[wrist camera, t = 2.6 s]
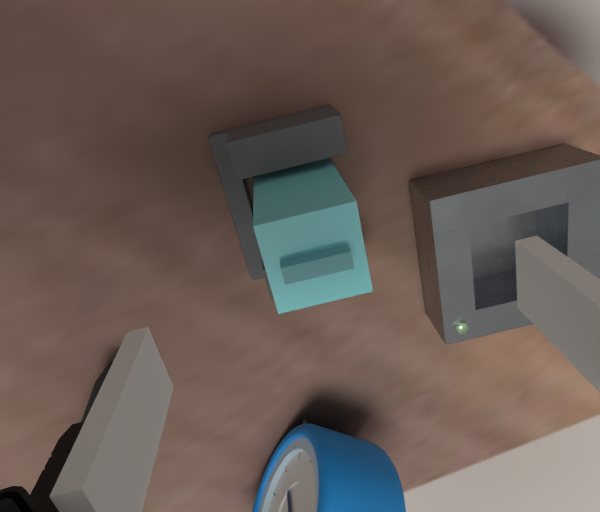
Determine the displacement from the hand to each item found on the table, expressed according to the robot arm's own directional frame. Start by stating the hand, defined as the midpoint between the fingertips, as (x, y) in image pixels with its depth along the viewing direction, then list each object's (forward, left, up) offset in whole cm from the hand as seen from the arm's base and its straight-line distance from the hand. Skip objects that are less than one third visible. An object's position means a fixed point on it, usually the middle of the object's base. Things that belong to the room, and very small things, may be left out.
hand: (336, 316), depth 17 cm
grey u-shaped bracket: (0, 0, -14) cm, 14 cm away
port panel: (+6, +12, -14) cm, 19 cm away
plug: (0, 0, -14) cm, 14 cm away
